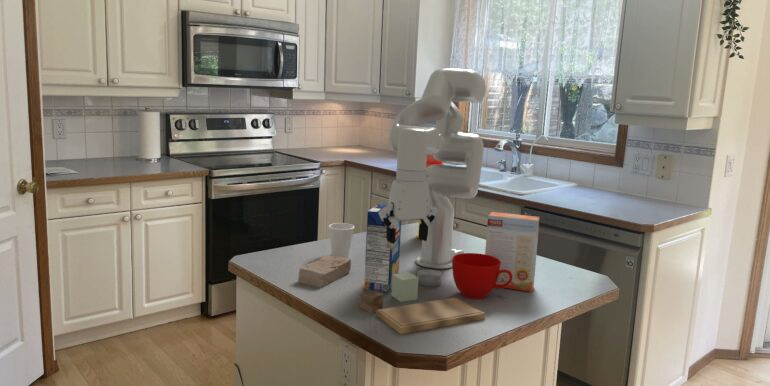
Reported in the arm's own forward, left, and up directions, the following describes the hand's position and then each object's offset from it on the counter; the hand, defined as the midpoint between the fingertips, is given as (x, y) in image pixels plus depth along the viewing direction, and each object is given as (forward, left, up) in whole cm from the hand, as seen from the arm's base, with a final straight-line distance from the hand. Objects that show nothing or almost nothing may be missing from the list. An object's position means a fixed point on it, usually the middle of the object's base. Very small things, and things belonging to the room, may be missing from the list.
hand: (406, 241), depth 160 cm
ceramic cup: (-20, +7, -16) cm, 27 cm away
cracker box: (-33, +3, -16) cm, 37 cm away
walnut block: (+12, +4, -16) cm, 20 cm away
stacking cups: (-41, -51, -16) cm, 68 cm away
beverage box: (+1, -11, -16) cm, 20 cm away
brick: (+13, -23, -16) cm, 31 cm away
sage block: (0, 0, -16) cm, 16 cm away
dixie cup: (0, -41, -16) cm, 44 cm away
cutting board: (+1, +14, -16) cm, 21 cm away
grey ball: (-13, -8, -16) cm, 22 cm away
